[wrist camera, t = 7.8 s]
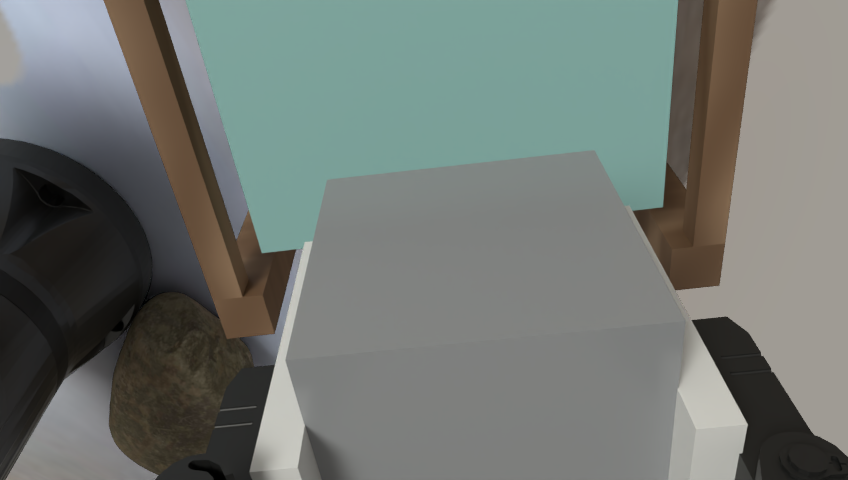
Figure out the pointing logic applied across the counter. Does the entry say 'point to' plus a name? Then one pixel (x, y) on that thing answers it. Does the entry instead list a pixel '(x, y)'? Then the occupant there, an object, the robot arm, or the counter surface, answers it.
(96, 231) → the robot arm
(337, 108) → the trapdoor
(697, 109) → the frame
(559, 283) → the gray cube
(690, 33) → the counter surface
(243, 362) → the stone
